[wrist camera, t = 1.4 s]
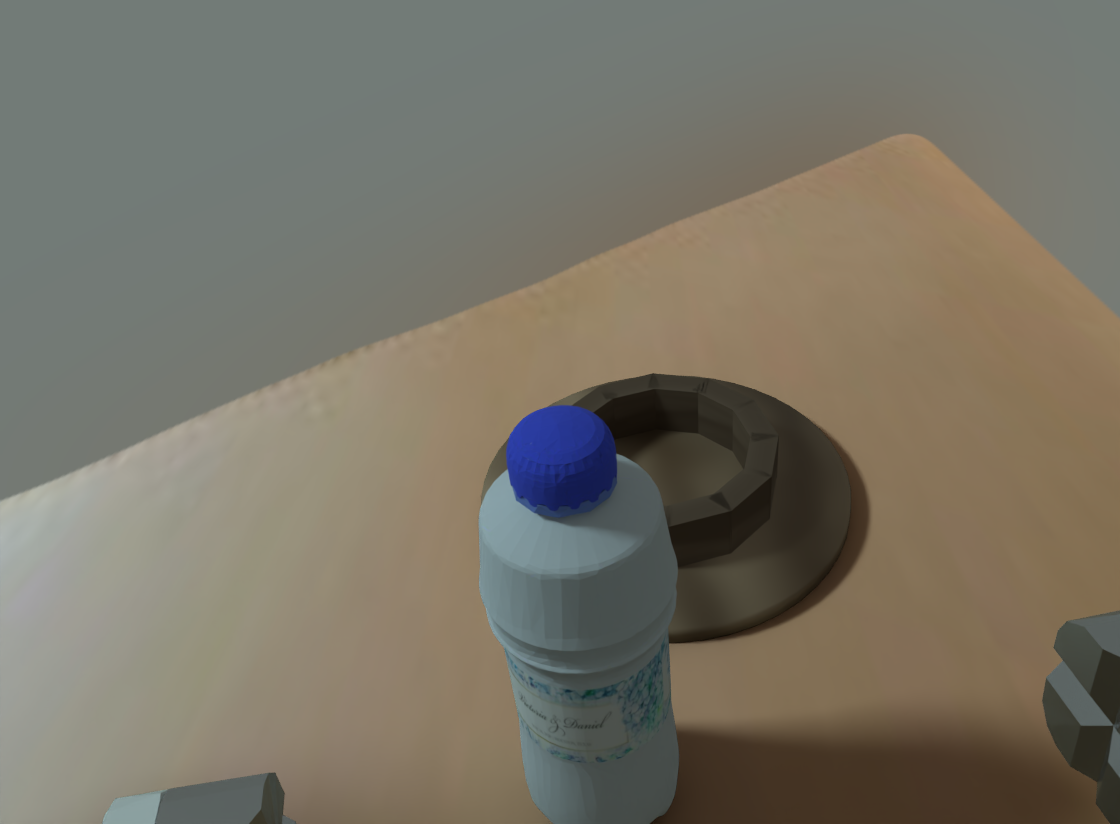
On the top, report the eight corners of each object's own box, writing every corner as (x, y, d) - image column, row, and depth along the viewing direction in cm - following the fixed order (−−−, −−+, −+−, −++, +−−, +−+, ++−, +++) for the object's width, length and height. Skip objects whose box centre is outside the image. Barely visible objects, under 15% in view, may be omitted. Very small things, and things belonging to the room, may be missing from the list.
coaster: (527, 689, 47) (517, 634, 44) (456, 431, 62) (445, 379, 60) (922, 582, 50) (933, 524, 47) (759, 359, 65) (761, 307, 63)
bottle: (497, 828, 42) (404, 467, 29) (570, 701, 46) (516, 342, 34) (646, 896, 39) (614, 529, 26) (709, 754, 43) (706, 383, 31)
